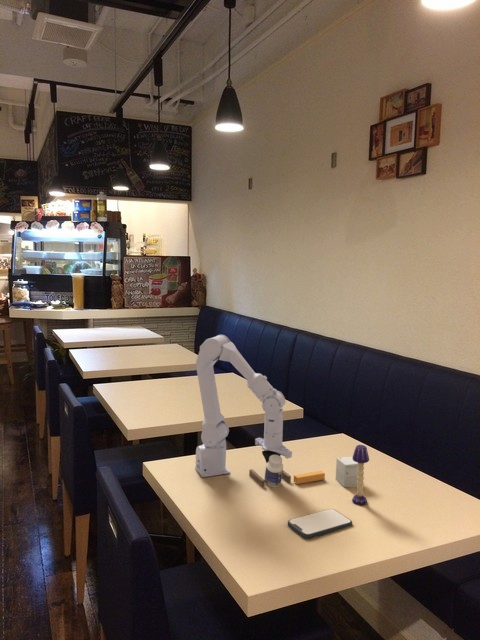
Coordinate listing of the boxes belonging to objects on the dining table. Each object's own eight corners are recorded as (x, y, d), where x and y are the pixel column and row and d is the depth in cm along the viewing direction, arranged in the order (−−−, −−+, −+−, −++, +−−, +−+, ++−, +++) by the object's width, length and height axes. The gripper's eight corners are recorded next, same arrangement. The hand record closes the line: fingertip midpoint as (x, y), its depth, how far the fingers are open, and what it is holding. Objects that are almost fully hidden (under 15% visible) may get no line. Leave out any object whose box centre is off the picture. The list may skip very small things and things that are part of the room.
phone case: (332, 513, 142) (285, 525, 134) (332, 507, 142) (285, 519, 134) (354, 527, 135) (305, 542, 127) (354, 521, 135) (306, 536, 126)
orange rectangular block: (296, 484, 158) (297, 477, 158) (293, 481, 160) (293, 475, 159) (324, 479, 162) (324, 473, 162) (321, 476, 164) (321, 470, 163)
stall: (261, 487, 156) (261, 481, 155) (249, 475, 164) (249, 469, 164) (290, 482, 160) (290, 476, 159) (276, 471, 168) (277, 465, 168)
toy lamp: (363, 507, 145) (366, 450, 143) (347, 503, 147) (350, 446, 145) (369, 500, 149) (372, 445, 147) (353, 496, 151) (356, 442, 149)
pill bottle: (279, 489, 156) (282, 466, 152) (262, 485, 157) (265, 462, 153) (282, 477, 161) (285, 455, 157) (266, 473, 162) (268, 451, 158)
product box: (343, 487, 157) (344, 464, 156) (334, 479, 163) (336, 457, 162) (361, 485, 159) (363, 463, 158) (352, 477, 164) (353, 455, 164)
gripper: (248, 427, 162) (247, 468, 164) (280, 440, 151) (279, 484, 153) (264, 423, 167) (263, 462, 169) (297, 435, 156) (295, 478, 158)
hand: (272, 472), depth 161 cm, fingers closed, pressing on pill bottle
